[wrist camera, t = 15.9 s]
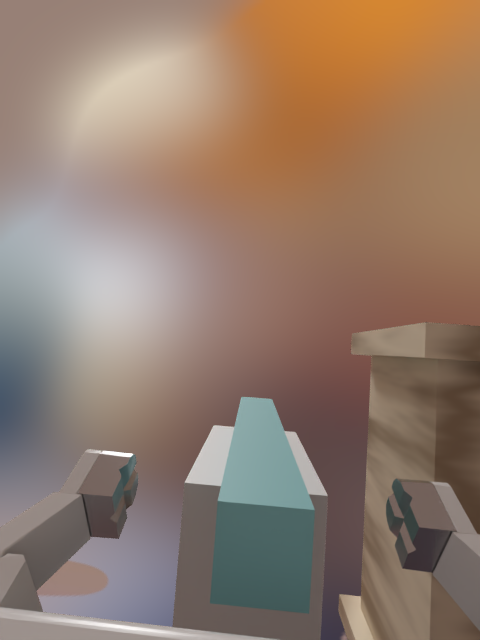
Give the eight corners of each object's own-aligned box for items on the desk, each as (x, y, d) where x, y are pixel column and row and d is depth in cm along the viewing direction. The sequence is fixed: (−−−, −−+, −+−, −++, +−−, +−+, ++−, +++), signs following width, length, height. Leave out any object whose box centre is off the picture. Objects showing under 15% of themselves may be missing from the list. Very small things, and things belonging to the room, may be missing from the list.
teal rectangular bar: (269, 430, 34) (271, 399, 35) (309, 613, 11) (315, 509, 11) (239, 427, 35) (241, 396, 35) (209, 603, 11) (217, 501, 11)
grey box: (284, 605, 33) (295, 432, 34) (311, 815, 18) (327, 495, 20) (200, 596, 34) (214, 425, 35) (158, 795, 19) (184, 482, 20)
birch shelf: (425, 620, 33) (434, 339, 35) (571, 849, 18) (571, 332, 20) (338, 611, 33) (352, 333, 35) (409, 828, 18) (425, 322, 20)
